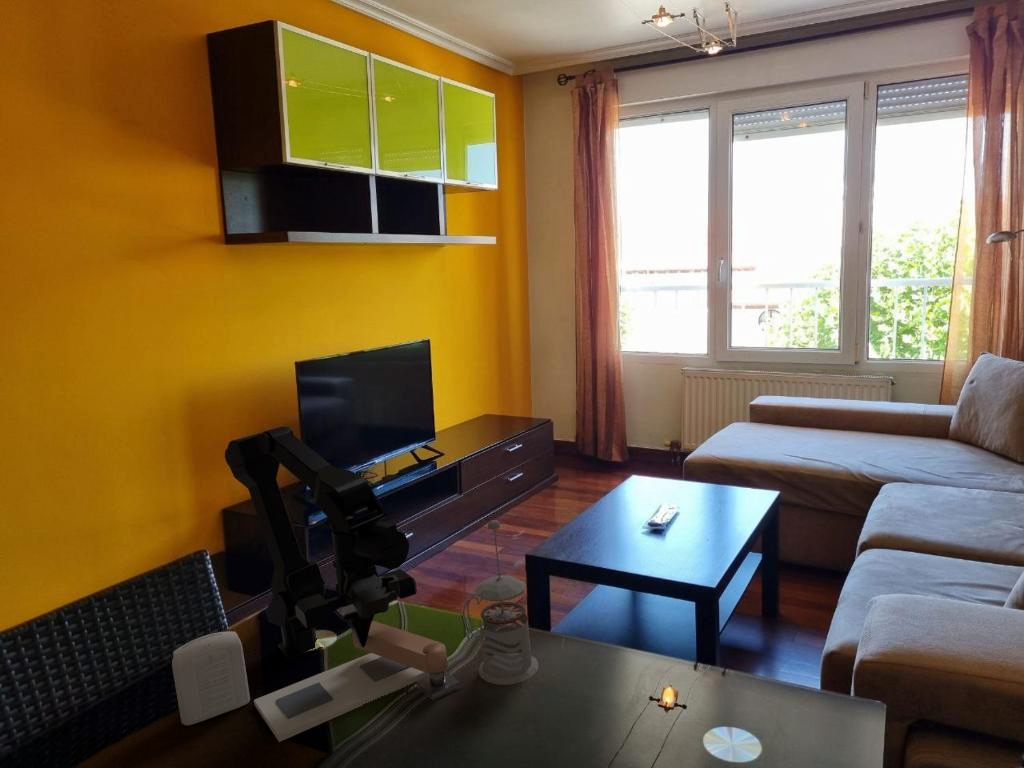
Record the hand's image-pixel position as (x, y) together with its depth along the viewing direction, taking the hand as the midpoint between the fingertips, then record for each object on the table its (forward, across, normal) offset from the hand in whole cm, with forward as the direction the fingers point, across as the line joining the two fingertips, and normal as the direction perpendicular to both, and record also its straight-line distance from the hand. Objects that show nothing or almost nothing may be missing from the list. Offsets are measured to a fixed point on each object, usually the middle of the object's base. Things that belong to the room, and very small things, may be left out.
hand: (362, 646), depth 122 cm
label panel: (+5, -4, -2) cm, 7 cm away
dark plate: (+5, +7, -12) cm, 15 cm away
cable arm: (+1, +5, -4) cm, 7 cm away
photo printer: (+6, -22, +7) cm, 24 cm away
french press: (+5, +18, -14) cm, 23 cm away
